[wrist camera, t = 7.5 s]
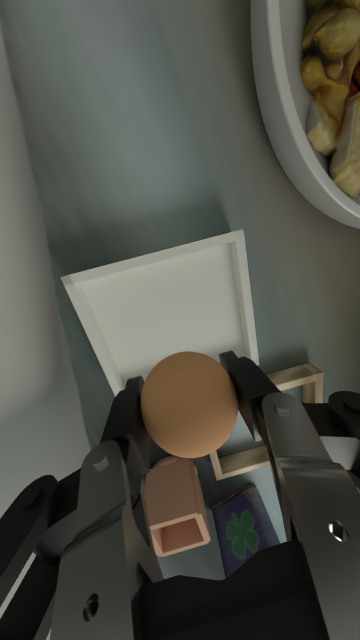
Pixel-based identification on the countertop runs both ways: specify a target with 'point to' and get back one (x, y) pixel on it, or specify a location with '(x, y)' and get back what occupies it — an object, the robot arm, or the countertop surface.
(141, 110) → the countertop surface
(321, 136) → the bowl
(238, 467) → the corral
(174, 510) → the cup
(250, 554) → the flask
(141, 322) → the tray
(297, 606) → the robot arm
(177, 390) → the ball
